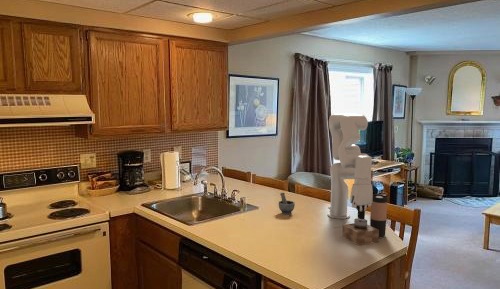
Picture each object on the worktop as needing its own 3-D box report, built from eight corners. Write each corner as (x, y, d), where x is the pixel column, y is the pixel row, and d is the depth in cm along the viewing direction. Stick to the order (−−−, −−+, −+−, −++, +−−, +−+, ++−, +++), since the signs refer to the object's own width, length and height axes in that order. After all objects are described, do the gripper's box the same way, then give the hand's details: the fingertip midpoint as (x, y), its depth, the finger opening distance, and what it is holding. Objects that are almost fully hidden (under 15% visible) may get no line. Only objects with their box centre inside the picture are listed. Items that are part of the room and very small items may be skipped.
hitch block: (342, 236, 179) (342, 224, 178) (362, 233, 183) (362, 222, 183) (357, 245, 168) (358, 232, 167) (378, 241, 172) (379, 229, 172)
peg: (351, 236, 177) (351, 219, 176) (361, 235, 179) (361, 217, 178) (358, 241, 172) (359, 222, 171) (369, 239, 174) (370, 221, 173)
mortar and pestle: (297, 215, 214) (298, 195, 212) (284, 217, 209) (284, 196, 208) (287, 210, 224) (287, 191, 222) (274, 211, 219) (274, 192, 218)
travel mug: (366, 233, 184) (368, 195, 182) (378, 231, 186) (380, 193, 184) (376, 238, 177) (378, 198, 174) (388, 236, 179) (391, 197, 177)
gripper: (370, 178, 179) (368, 215, 180) (344, 180, 173) (343, 218, 175) (380, 181, 172) (378, 219, 174) (354, 183, 166) (353, 222, 168)
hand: (361, 218), depth 174 cm, fingers closed
